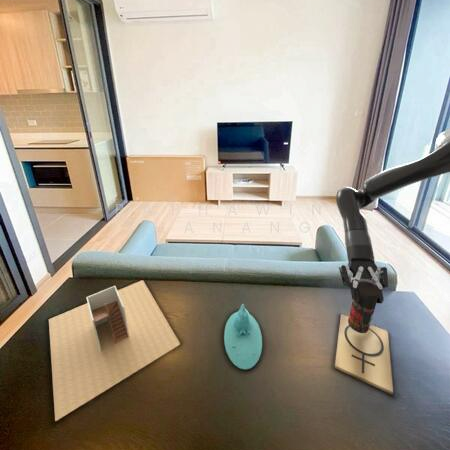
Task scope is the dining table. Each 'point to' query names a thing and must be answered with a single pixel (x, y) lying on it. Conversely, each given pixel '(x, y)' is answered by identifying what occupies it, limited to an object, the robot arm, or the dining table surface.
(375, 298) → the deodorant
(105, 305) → the staircase
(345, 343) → the sketch board
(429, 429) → the dining table surface
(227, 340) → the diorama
